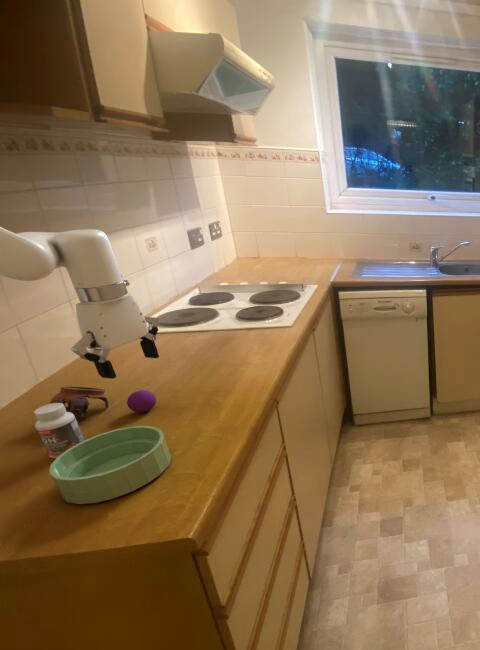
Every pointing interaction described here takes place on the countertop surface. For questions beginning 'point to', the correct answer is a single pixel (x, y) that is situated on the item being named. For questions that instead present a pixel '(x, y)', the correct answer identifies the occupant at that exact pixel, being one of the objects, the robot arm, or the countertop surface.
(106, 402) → the brown arched stand
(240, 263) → the countertop surface
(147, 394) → the ball
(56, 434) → the pill bottle
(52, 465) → the bowl
